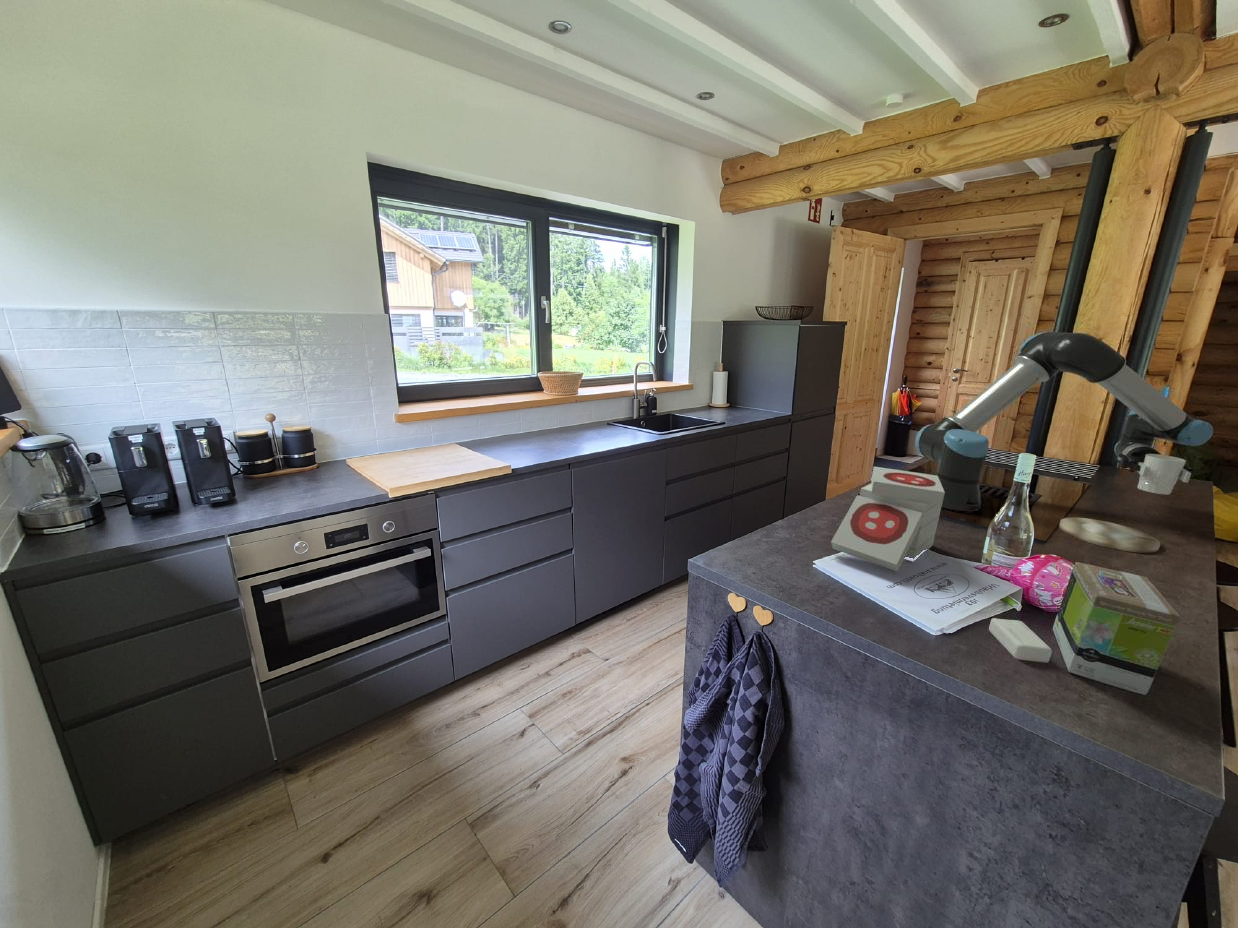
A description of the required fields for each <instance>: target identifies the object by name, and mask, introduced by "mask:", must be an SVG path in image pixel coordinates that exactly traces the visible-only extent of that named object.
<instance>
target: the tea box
mask: <svg viewBox="0 0 1238 928" xmlns="http://www.w3.org/2000/svg"><path fill="white" fill-rule="evenodd" d="M1070 573H1071V574H1070V576H1069V579H1068V583H1067V585H1066V588H1065V591H1064V595H1063V597H1062V599H1061V603H1060V605H1059V609H1058V612H1057V614H1056V617H1055V619H1054V623H1053V627H1052V632H1053V633H1054V637H1055V638H1056V642H1057V644H1058V647H1059V649H1060V652H1061V655H1062V658H1063V660H1064V663H1065V666H1066V668H1067V671H1068V672H1069V673H1071V674H1074V675H1077V676H1080V677H1083V678H1086V679H1089V680H1093V681H1095V682H1099V683H1103V684H1106V685H1108V686H1112V687H1115V688H1119V689H1123V690H1126V691H1128V692H1132V693H1136V694H1140V695H1142V696H1146V695H1147V694H1148V692H1149V691H1150V688H1151V686H1152V684H1153V682H1154V679H1155V676H1156V674H1157V671H1158V670H1159V667H1160V665H1161V663H1162V659H1163V657H1164V655H1165V653H1166V651H1167V649H1168V646H1169V645H1170V644H1169V643H1170V642H1171V639H1172V637H1173V634H1174V632H1175V630H1176V628H1177V624H1178V622H1179V619H1180V618H1181V617H1180V614H1179V613H1178V612H1177V611H1176V609H1175V608H1174V607H1173V606H1172V605H1171V603H1170V602H1169V601H1168V600H1167V599H1166V598H1165V597H1164V596H1163V594H1162V593H1161V592H1160V590H1158V589H1157V587H1156V586H1155V584H1153V583H1152V581H1150V579H1149V578H1148V577H1147V576H1143V575H1138V574H1133V573H1129V572H1125V571H1120V570H1116V569H1115V570H1114V569H1110V568H1107V567H1102V566H1097V565H1093V564H1088V563H1083V562H1078V561H1075V563H1074V565H1073V567H1072V571H1071V572H1070Z"/></svg>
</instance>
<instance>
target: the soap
mask: <svg viewBox="0 0 1238 928" xmlns="http://www.w3.org/2000/svg"><path fill="white" fill-rule="evenodd" d="M988 631H989V633H991V634H992V635H993V637H995V638H996V640H997V641H998V642H999V643H1000V644H1001V645H1002V646H1003V647H1004V648H1005V649H1006V650H1007V651H1008V652H1009V653H1010V655H1012V657H1013V658H1014V659H1016V660H1021V661H1029V662H1039V663H1046V664H1047V663H1049V661H1050V659H1051V656H1052V653H1053V649H1052V648H1051V647H1050V646H1049V645H1047V644H1046V642H1045V641H1043V640H1042V638H1040V636H1038V635H1037V634H1036V633H1035V632H1034V631H1033V630H1031V629H1030V628H1029V627H1028V626H1027V625H1026V624H1025V622H1023V621H1021V620H1015V619H1004V618H1003V619H1002V618H996V617H994V618H991V620H990V624H989V627H988Z"/></svg>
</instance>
